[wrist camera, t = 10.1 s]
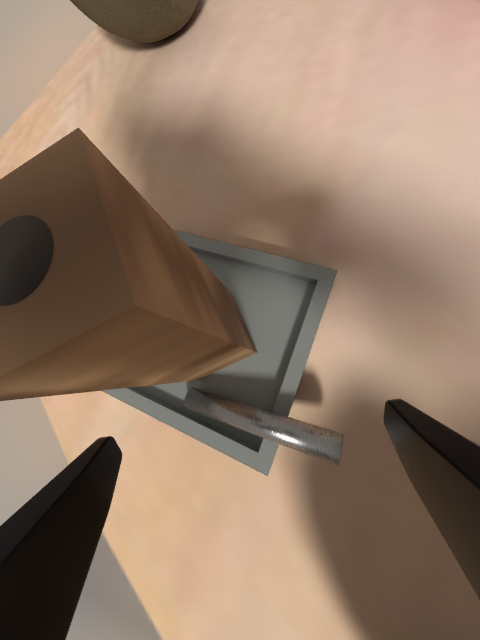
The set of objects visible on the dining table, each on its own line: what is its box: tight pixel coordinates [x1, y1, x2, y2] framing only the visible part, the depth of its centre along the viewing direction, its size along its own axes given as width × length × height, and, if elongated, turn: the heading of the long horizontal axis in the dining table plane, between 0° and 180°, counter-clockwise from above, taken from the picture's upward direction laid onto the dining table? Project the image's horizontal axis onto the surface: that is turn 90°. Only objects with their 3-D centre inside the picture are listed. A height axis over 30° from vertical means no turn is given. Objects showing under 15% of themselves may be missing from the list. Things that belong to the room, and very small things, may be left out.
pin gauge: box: [184, 387, 344, 466], centre depth 16 cm, size 10×2×2 cm
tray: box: [101, 230, 337, 476], centre depth 19 cm, size 14×14×2 cm
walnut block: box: [0, 128, 258, 401], centre depth 12 cm, size 5×5×14 cm
